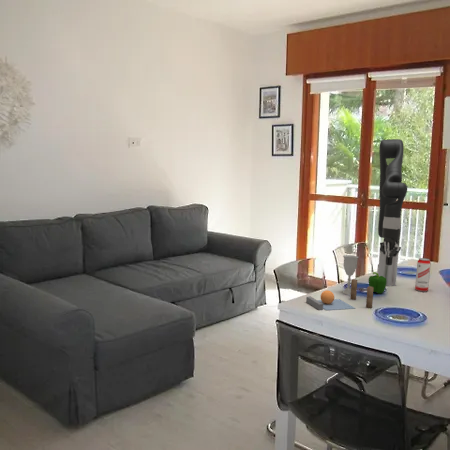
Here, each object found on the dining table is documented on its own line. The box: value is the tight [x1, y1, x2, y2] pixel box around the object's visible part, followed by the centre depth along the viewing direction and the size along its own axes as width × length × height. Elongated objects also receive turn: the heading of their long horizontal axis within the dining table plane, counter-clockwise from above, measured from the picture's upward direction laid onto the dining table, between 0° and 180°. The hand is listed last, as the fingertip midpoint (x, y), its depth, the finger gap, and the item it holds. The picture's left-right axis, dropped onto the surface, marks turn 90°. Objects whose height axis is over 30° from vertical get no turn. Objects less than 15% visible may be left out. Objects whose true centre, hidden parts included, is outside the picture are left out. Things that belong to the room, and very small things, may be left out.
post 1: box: [349, 278, 358, 301], centre depth 229 cm, size 3×3×9 cm
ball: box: [320, 289, 335, 304], centre depth 220 cm, size 6×6×6 cm
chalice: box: [342, 254, 360, 296], centre depth 238 cm, size 7×7×18 cm
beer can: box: [414, 257, 431, 293], centre depth 248 cm, size 6×6×16 cm
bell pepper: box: [368, 271, 387, 294], centre depth 242 cm, size 8×8×10 cm
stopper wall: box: [305, 296, 324, 311], centre depth 217 cm, size 12×2×2 cm, turn 16°
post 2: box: [365, 285, 374, 309], centre depth 216 cm, size 3×3×9 cm
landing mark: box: [316, 298, 356, 311], centre depth 219 cm, size 14×14×1 cm
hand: (388, 265), depth 225 cm, fingers closed
